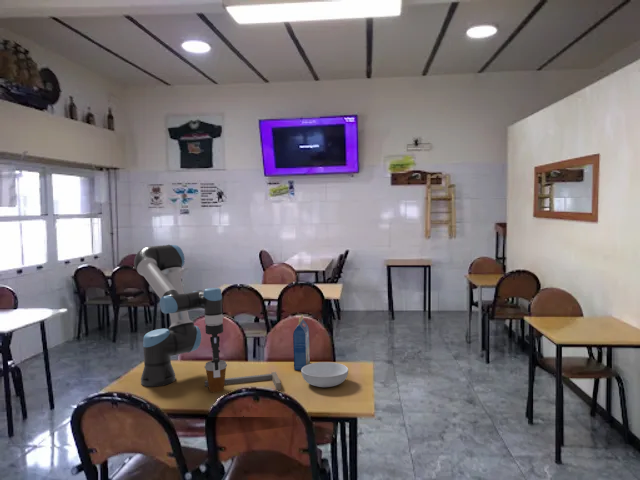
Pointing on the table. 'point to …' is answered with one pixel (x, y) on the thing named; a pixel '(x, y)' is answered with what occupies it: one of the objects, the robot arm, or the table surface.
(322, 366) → the serving bowl
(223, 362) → the disposable coffee cup
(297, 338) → the blue food package
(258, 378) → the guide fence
